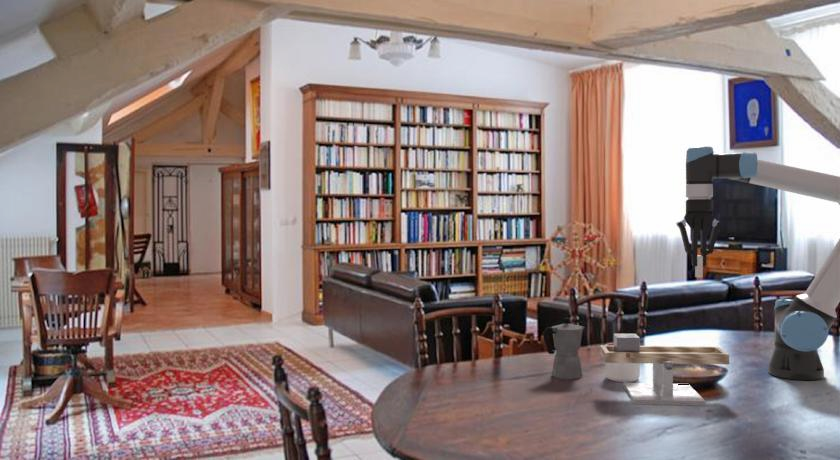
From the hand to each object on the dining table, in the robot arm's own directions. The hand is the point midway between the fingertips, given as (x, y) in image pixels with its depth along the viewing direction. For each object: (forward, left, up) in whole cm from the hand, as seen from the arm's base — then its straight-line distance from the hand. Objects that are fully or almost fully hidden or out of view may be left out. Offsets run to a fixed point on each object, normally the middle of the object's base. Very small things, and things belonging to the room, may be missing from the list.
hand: (698, 277), depth 215 cm
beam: (+15, +22, -20) cm, 34 cm away
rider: (+25, +22, -19) cm, 38 cm away
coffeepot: (+40, +2, -31) cm, 50 cm away
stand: (+15, +22, -30) cm, 40 cm away
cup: (+23, +4, -31) cm, 39 cm away
